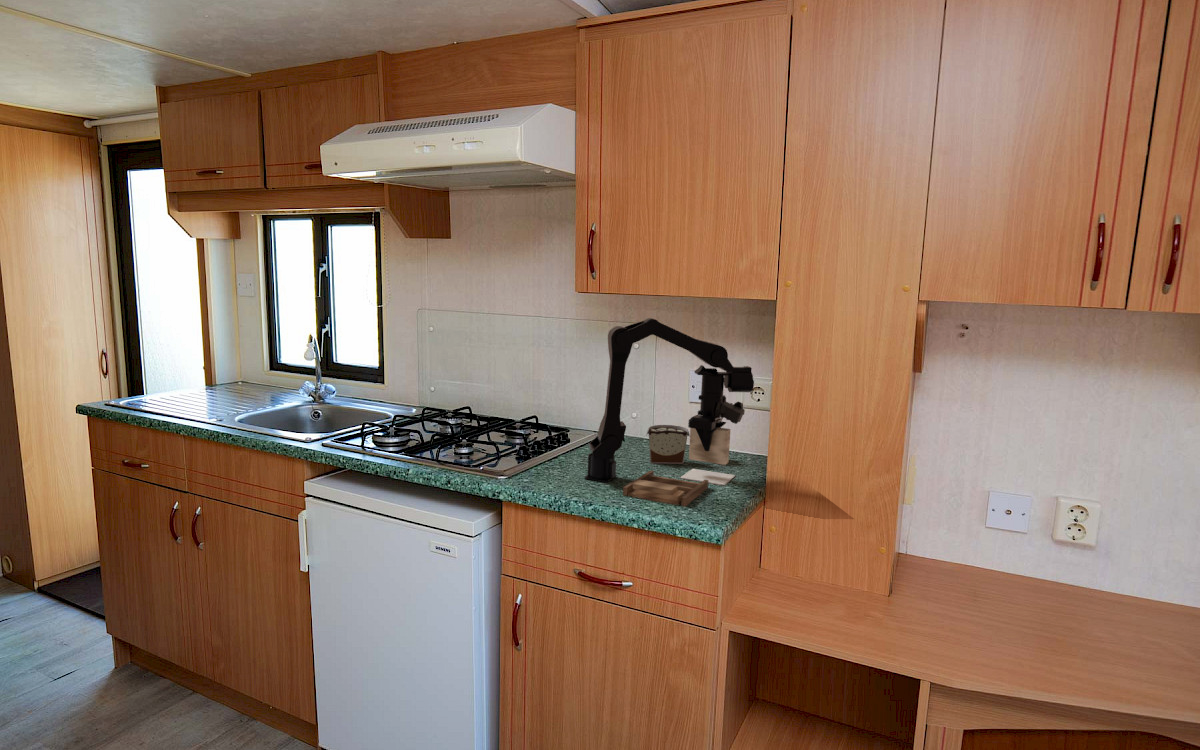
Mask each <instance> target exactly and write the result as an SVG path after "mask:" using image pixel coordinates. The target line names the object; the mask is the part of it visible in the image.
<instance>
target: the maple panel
mask: <svg viewBox="0 0 1200 750" xmlns="http://www.w3.org/2000/svg"><path fill="white" fill-rule="evenodd" d="M689 435H690V437H689V449H688V460H689V461H691V460H693V461H697V462H704V463H710V464H718V465H723V466H726V465H727V464H729V460H730V459H729V458H730V446H731V445H730V443H731V442H730V441H731V428H727V427H726V428H725V427H721V428H718V429H717V430H715V431H714V432H713V436H712V440H711V445H710V449H709V451H705V450H704V447H703V445H702V442H701V440H700V437H699V435H698V433H697V431H696V429H695V428H690V431H689Z"/></svg>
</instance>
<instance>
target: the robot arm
mask: <svg viewBox="0 0 1200 750" xmlns="http://www.w3.org/2000/svg"><path fill="white" fill-rule="evenodd" d="M650 336H655V337H658V339H659V338H660V339H662V340H664V341H665V342H669V343H670V344H673V345H675V346H676V347H679V348H681V349H684V350H686V351H687V352H689V353H691V354H692V355H693V356H694V357H696V358H697V359H699V360H701V361H702V362H704V364H707V365H709V366H710V368H709V367H705V366H704V365H703V364H701V365H699V367H698V368H696V369H695V370H694V374H695V375H697V376H701V391H700V394H699V395H698V400H700V407H699V410H698V411H697V414H695V415H693V416H692V417H690V418H689V419H688V424H687V426H688V429H689V428H695V429H696V431H697V433H698V435H699V437H700V440H701V442H702V445H703V447H704V450H705V451H709V449H710V445H711V440H712V436H713V432H714V431H715V430H717V429H718V428H723V426H724V425H726V424H727V422H726V421H730V422H731V423H732V424H738V423H740V422H741V420H742V418H743V416H744V415H745V408H744V403H743V402H741V401H737V402H735V403H734V404H733V403H732V402H731V403H730V402H728V401H727V397H726V395H725V394H724V388H725V389H727V391H728V392H729V393H752V392H753V390H754V387H755V386H754V385H755V380H754V375H753V372H752V369H753V368H752V367H751V366H748V365H747V366H733V364H732V363H731V361H730V360H729V356H728V355H729V354H728V350H727V349H726V347H724V346H722V345H720V344H718V343H713V342H709V341H707V340H706V341H705V340H701V339H699V338H698V339H697V338H695V337H692V336H690V335H688V334H686V333H683V332H681V331H679V330H677V329H675V328H673V327H670V326H668V325H666V324H664V323H662V322H659V321H658V320H657V319H656V318H653V317H647V318H646V319H644V320H642V321H641V320H640V321H638V322H635V323H631V324H629V325H625V326H620V325H617V326H614V327H612V328H611V329H609V331H608V333H607V345H608V355H609V368H608V377H607V378H608V379H607V386H606V387H607V388H606V397H605V407H604V414H603V417H602V419H601V421H600V423H599V428H598V431H597V436H596V437H595V438H593V439H592V440H591V441H590V442H589V443H588V445H589V449H590V452H591V453H588V454H587V475H585V476H584V479H586V480H591V481H597V482H603V483H608V482H610V481H611V480H613V479H615V478H617V476H618V475H617V473H616V472H617V461H616V460H615V459H616V458H615V457H616V455H615V453H616V452H617V451H618V450H619V449H621V447H622V445H623V443H624V442H626V440H625V433H626V430H627V425H626V424H625V423H624V422H623V420H621V411H622V400H623V390H624V381H625V371H626V364H627V362H628V359H629V356H630V354H631V350H632V348H633V345H634V343H637V342H639V341H642V340H643V339H646V338H648V337H650ZM711 367H713V368H711ZM717 368H718V369H720V370H723V371H718V370H717ZM721 417H722V418H723V419H726V421H721V419H720V418H721Z"/></svg>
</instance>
